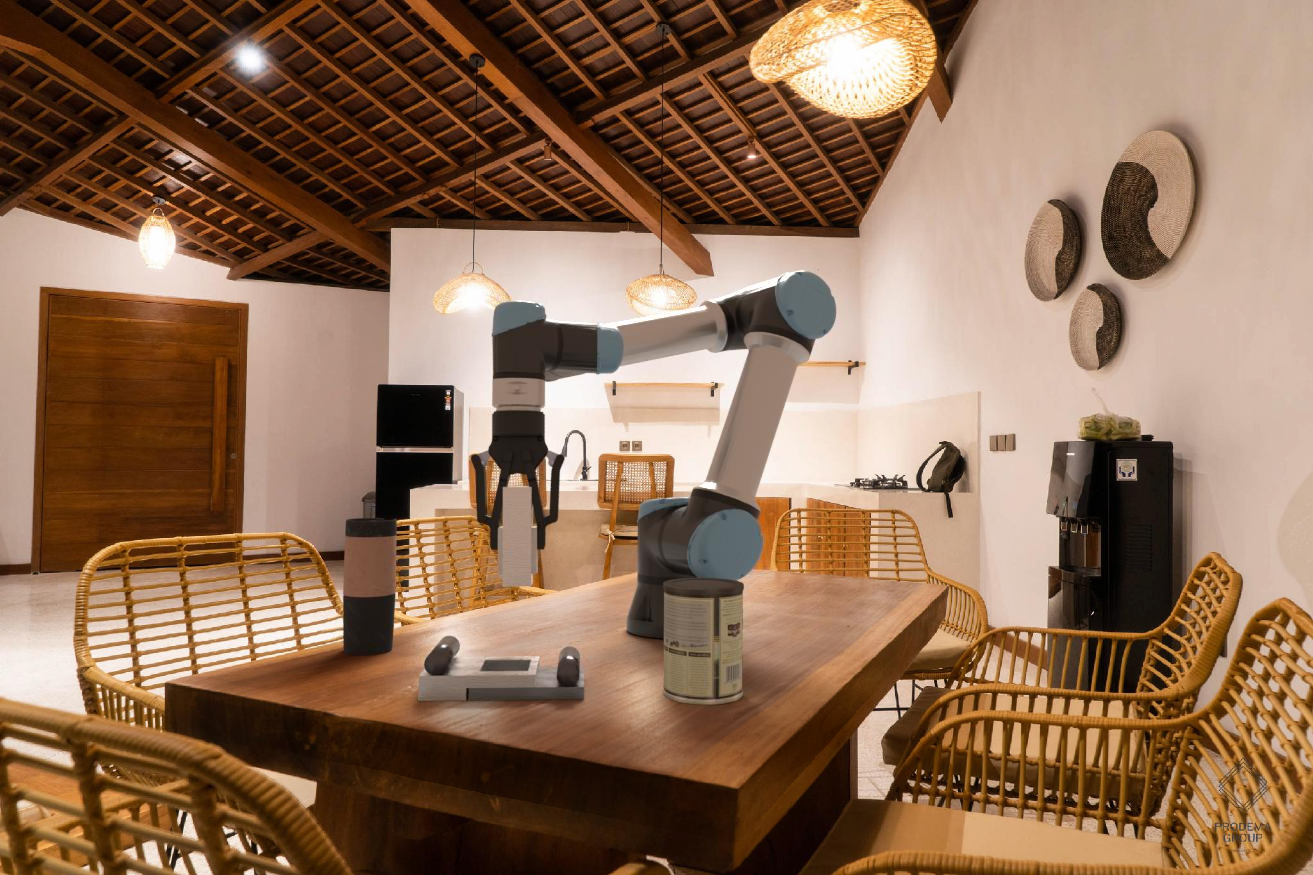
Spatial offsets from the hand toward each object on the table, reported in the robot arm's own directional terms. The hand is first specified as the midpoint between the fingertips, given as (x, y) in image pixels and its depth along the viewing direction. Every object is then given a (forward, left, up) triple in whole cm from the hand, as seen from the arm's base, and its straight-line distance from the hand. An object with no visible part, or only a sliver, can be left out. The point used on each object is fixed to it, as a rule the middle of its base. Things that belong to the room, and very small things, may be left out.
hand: (517, 572), depth 118 cm
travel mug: (+23, -11, -14) cm, 29 cm away
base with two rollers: (0, +12, -13) cm, 18 cm away
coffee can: (-25, +15, -14) cm, 32 cm away
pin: (0, 0, -2) cm, 2 cm away
